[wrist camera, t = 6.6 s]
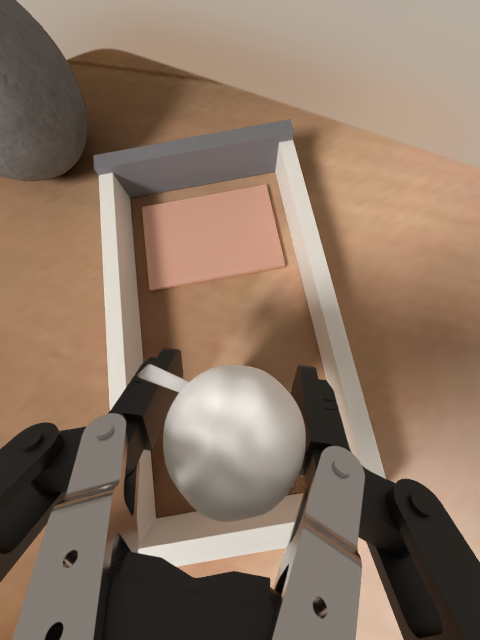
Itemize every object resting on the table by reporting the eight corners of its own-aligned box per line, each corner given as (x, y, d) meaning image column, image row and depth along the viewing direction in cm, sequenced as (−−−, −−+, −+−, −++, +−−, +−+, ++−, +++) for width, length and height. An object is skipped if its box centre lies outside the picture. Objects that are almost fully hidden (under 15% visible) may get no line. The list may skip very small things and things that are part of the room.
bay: (141, 540, 14) (111, 585, 11) (117, 187, 19) (93, 155, 16) (373, 500, 14) (406, 535, 11) (284, 157, 19) (290, 119, 16)
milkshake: (231, 345, 16) (204, 306, 6) (291, 401, 15) (364, 456, 5) (184, 395, 16) (75, 436, 6) (243, 456, 15) (230, 629, 5)
